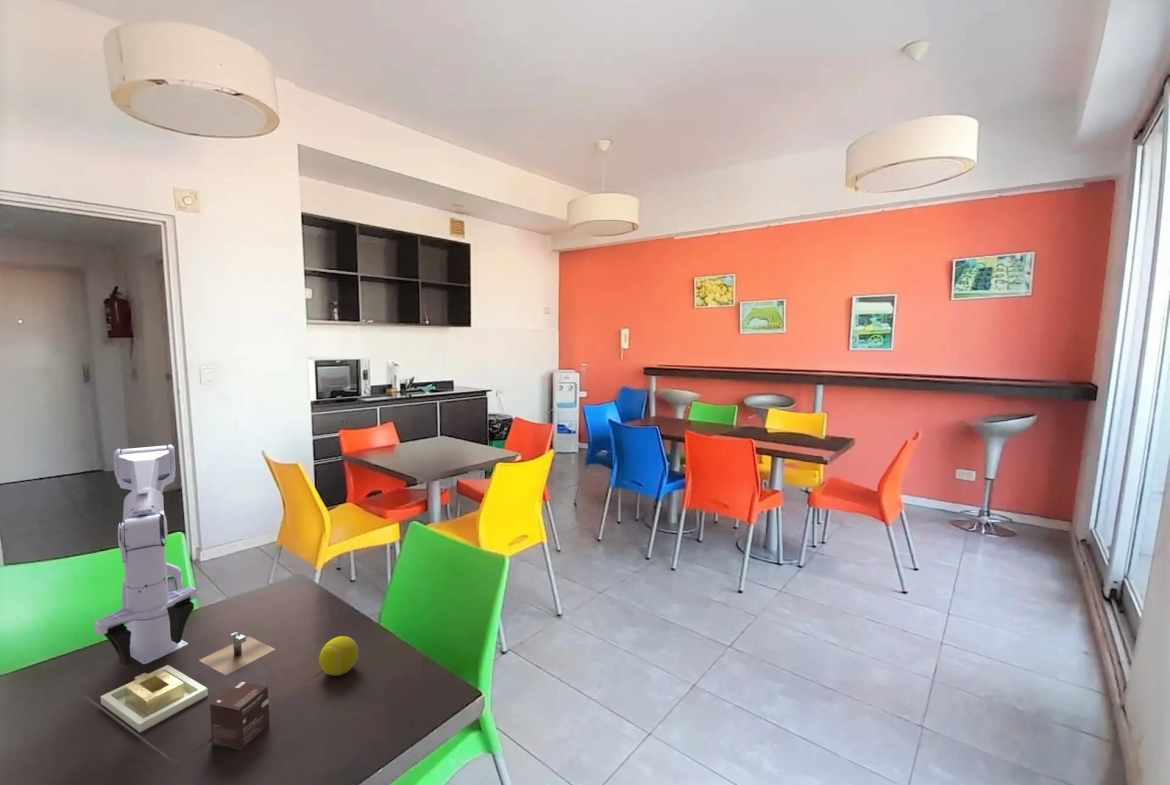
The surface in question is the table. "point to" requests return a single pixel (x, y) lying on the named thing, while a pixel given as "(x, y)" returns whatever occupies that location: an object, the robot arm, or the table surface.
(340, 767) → the table surface
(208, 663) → the stake base
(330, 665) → the tennis ball
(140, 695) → the gold hollow block
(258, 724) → the box
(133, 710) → the tray
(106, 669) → the table surface
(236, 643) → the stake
